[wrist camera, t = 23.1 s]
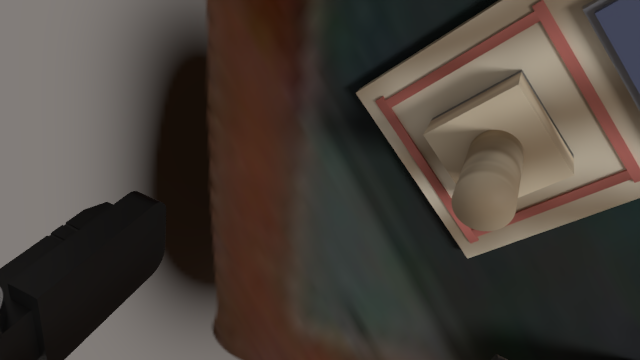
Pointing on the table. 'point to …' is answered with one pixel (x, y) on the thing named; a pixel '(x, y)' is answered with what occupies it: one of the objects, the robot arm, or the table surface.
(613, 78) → the stamping board
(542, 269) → the table surface
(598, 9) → the ink pad
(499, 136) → the stamp
